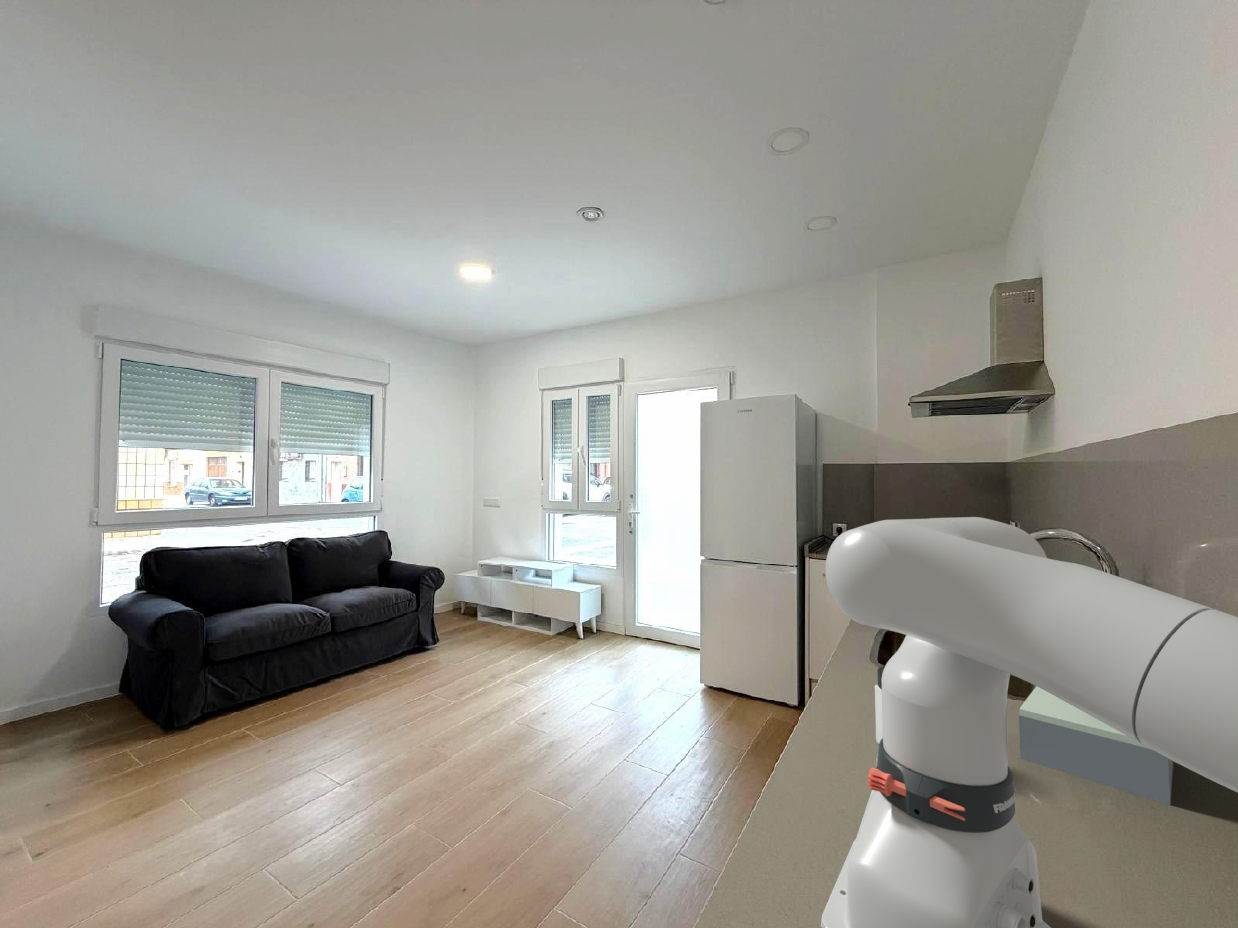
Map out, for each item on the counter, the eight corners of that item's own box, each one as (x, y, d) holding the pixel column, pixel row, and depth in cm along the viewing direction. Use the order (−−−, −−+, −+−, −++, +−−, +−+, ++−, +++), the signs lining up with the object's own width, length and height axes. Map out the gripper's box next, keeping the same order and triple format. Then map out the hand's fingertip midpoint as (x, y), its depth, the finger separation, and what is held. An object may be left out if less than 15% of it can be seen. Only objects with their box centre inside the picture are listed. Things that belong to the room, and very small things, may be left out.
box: (1170, 808, 68) (1167, 754, 69) (1020, 760, 80) (1018, 715, 81) (1173, 765, 79) (1170, 718, 79) (1040, 729, 91) (1039, 688, 91)
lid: (1168, 761, 69) (1162, 647, 70) (1019, 721, 81) (1015, 624, 81) (1170, 724, 80) (1165, 626, 80) (1039, 694, 91) (1035, 609, 92)
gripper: (1233, 733, 62) (1084, 694, 73) (1264, 696, 72) (1130, 668, 84) (1230, 679, 62) (1082, 649, 74) (1261, 651, 73) (1128, 629, 85)
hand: (1108, 659), depth 79 cm, fingers open, 8 cm apart
